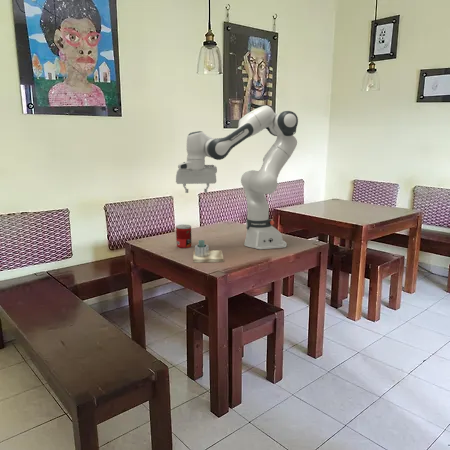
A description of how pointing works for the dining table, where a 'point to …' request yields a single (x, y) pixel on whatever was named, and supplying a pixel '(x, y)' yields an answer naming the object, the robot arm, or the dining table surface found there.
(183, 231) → the canned food
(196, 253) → the grey segmented ring
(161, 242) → the dining table surface
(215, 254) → the green peg on board
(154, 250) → the dining table surface
